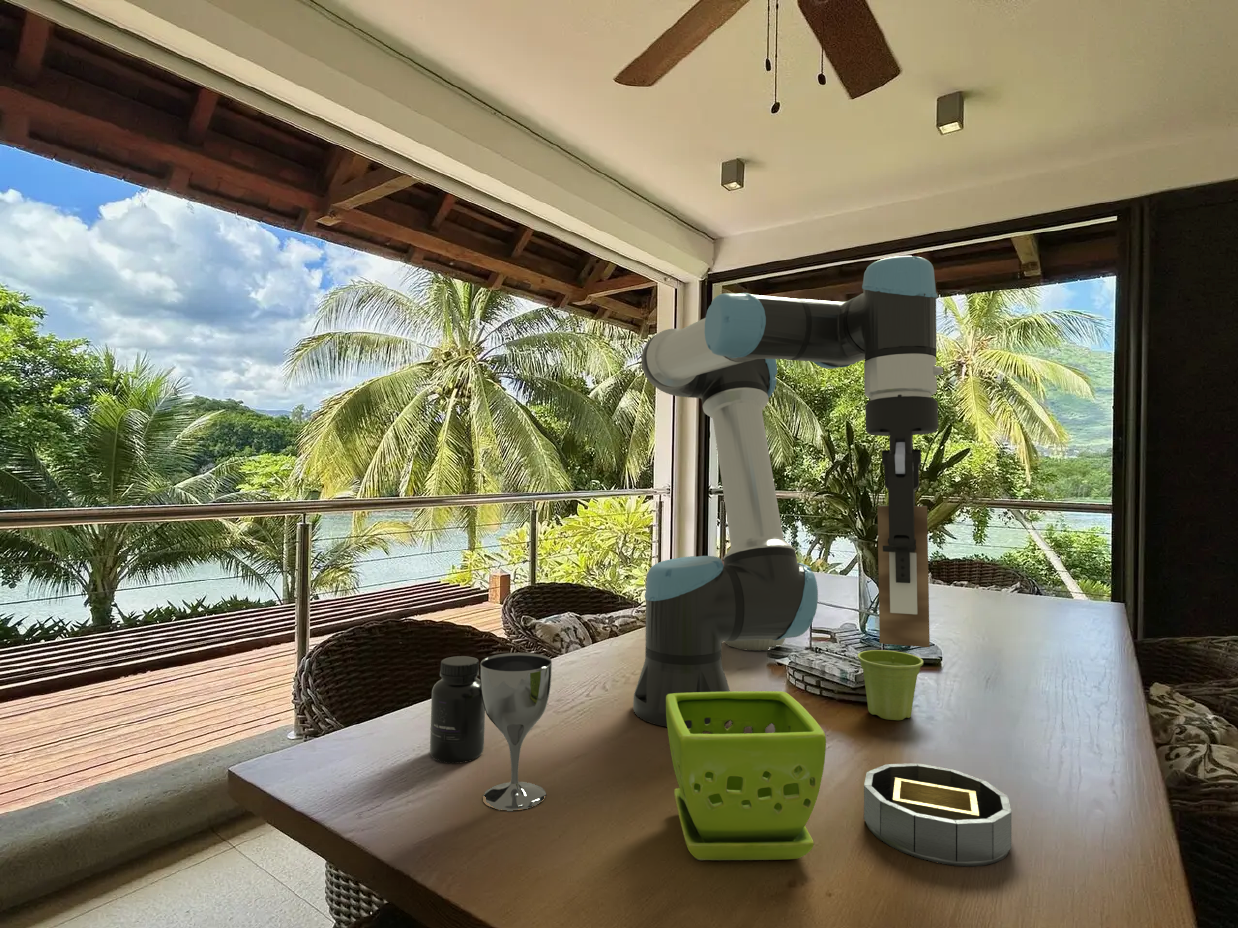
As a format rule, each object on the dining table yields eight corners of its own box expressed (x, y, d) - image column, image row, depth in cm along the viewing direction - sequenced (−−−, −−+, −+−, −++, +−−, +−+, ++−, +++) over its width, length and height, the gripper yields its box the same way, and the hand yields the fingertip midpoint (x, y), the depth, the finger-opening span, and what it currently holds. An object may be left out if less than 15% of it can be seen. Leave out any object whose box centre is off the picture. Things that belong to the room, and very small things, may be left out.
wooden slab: (879, 643, 76) (877, 505, 77) (881, 638, 79) (879, 505, 80) (929, 647, 74) (926, 506, 75) (929, 642, 77) (927, 506, 78)
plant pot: (929, 727, 102) (929, 667, 102) (861, 722, 104) (862, 663, 104) (915, 706, 111) (915, 651, 111) (853, 702, 113) (853, 648, 113)
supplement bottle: (430, 767, 86) (431, 668, 86) (429, 746, 92) (431, 655, 92) (486, 761, 88) (488, 665, 88) (482, 741, 94) (483, 652, 94)
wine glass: (516, 774, 84) (518, 649, 84) (564, 794, 79) (566, 660, 79) (463, 797, 78) (465, 662, 78) (511, 820, 73) (513, 675, 73)
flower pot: (788, 804, 77) (789, 688, 77) (830, 876, 63) (831, 735, 63) (661, 804, 77) (663, 688, 77) (676, 877, 63) (678, 735, 63)
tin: (859, 846, 68) (859, 805, 68) (869, 790, 81) (870, 755, 81) (1017, 880, 63) (1017, 835, 63) (1002, 814, 75) (1002, 777, 75)
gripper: (938, 385, 69) (943, 625, 68) (936, 405, 84) (940, 603, 83) (858, 390, 72) (861, 619, 71) (870, 408, 87) (873, 599, 86)
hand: (904, 610), depth 77 cm, fingers closed on wooden slab, 3 cm apart
